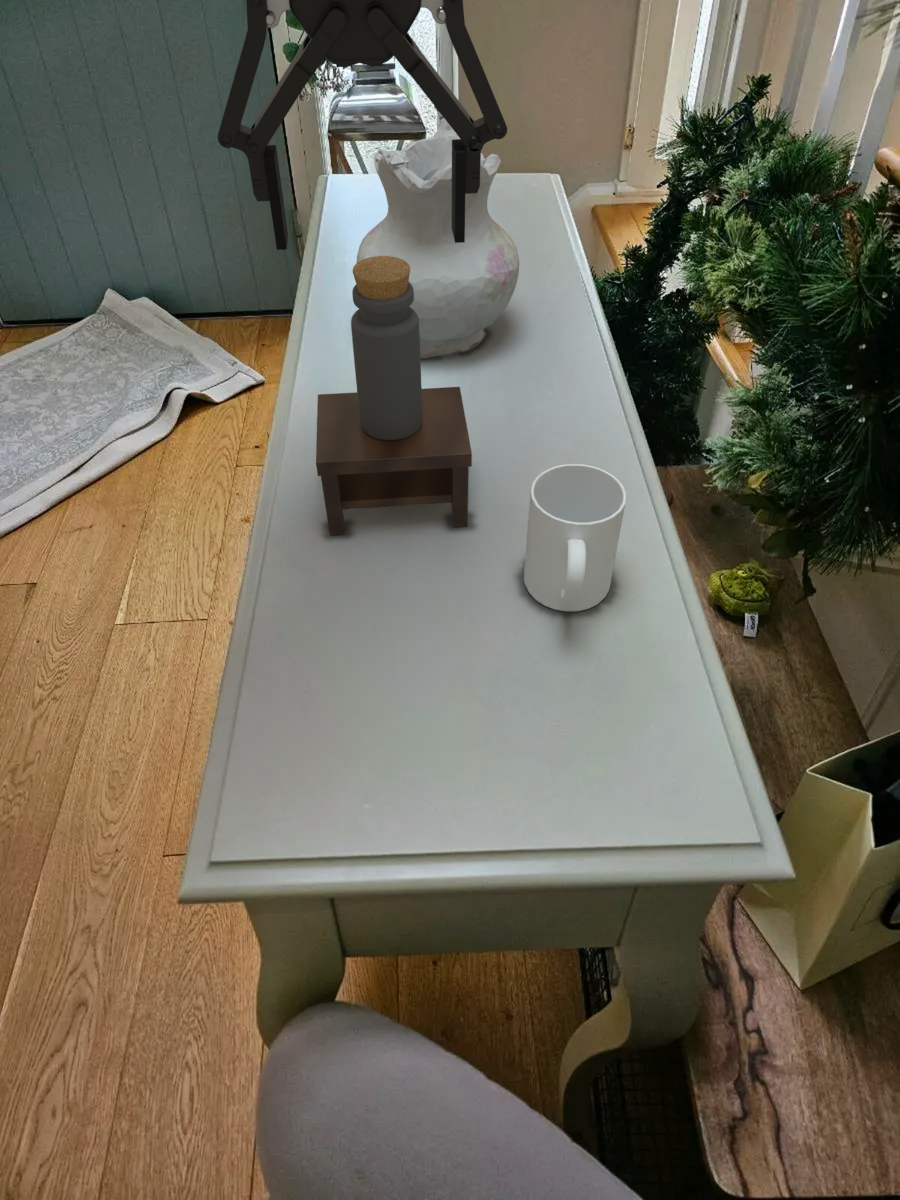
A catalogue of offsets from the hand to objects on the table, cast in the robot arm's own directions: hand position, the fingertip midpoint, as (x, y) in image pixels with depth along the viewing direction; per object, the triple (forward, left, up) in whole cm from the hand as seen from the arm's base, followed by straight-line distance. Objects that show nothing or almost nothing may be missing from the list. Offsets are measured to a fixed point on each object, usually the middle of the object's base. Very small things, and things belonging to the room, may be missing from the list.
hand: (370, 239), depth 67 cm
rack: (+1, +1, -27) cm, 27 cm away
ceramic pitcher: (+8, +34, -27) cm, 45 cm away
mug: (+15, -14, -27) cm, 34 cm away
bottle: (+1, +1, -18) cm, 18 cm away
